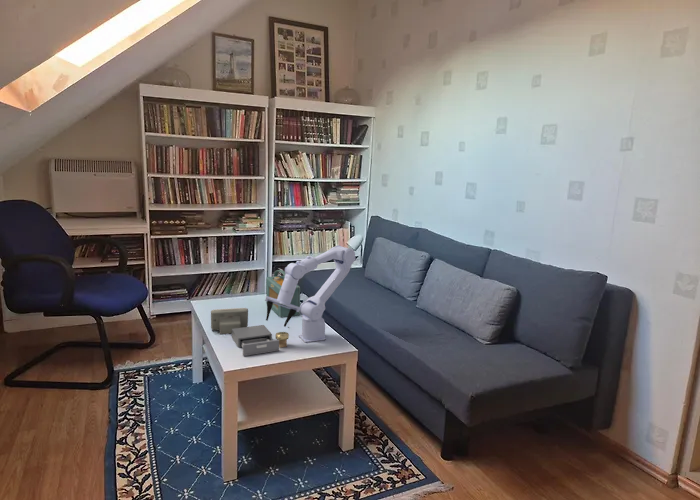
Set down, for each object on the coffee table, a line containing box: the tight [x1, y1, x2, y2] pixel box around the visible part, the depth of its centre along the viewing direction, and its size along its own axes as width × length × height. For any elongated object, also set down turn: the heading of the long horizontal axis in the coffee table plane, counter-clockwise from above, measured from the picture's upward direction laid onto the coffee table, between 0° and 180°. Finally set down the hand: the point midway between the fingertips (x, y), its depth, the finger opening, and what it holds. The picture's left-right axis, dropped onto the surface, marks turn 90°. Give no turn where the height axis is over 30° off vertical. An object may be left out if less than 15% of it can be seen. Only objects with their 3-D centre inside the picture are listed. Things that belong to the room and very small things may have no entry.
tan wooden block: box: [279, 339, 288, 349], centre depth 194 cm, size 3×3×4 cm
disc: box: [275, 331, 290, 341], centre depth 194 cm, size 5×5×2 cm
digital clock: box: [210, 307, 249, 335], centre depth 209 cm, size 16×9×11 cm, turn 95°
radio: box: [265, 269, 301, 318], centre depth 240 cm, size 26×11×20 cm, turn 26°
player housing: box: [231, 324, 273, 349], centre depth 199 cm, size 14×12×4 cm
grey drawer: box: [240, 337, 280, 357], centre depth 191 cm, size 14×12×4 cm
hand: (275, 323), depth 192 cm, fingers open, 7 cm apart
